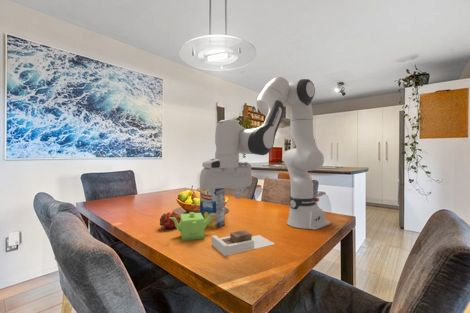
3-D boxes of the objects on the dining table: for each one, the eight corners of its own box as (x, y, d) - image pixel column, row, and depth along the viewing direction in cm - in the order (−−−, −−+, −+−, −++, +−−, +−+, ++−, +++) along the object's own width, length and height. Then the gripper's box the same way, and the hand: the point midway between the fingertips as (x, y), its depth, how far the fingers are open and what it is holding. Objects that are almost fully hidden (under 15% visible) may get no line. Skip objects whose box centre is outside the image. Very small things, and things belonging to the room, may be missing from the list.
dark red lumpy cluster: (157, 234, 110) (178, 231, 119) (167, 226, 106) (188, 224, 116) (153, 217, 114) (173, 215, 123) (162, 209, 110) (183, 208, 119)
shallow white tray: (259, 238, 101) (259, 226, 101) (275, 247, 91) (275, 235, 91) (211, 248, 90) (211, 235, 90) (224, 260, 81) (224, 246, 81)
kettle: (195, 248, 91) (194, 219, 91) (167, 242, 97) (166, 215, 97) (215, 235, 104) (215, 210, 104) (189, 230, 111) (189, 207, 110)
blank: (244, 241, 94) (244, 230, 94) (251, 245, 90) (251, 233, 90) (219, 246, 89) (219, 234, 89) (225, 251, 84) (225, 239, 84)
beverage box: (216, 228, 114) (216, 183, 114) (199, 224, 121) (199, 181, 120) (224, 224, 120) (224, 181, 119) (209, 220, 126) (208, 180, 126)
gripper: (246, 161, 95) (246, 195, 95) (198, 162, 85) (198, 200, 86) (255, 162, 89) (255, 198, 89) (204, 163, 80) (204, 204, 80)
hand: (226, 199), depth 87 cm, fingers open, 8 cm apart
